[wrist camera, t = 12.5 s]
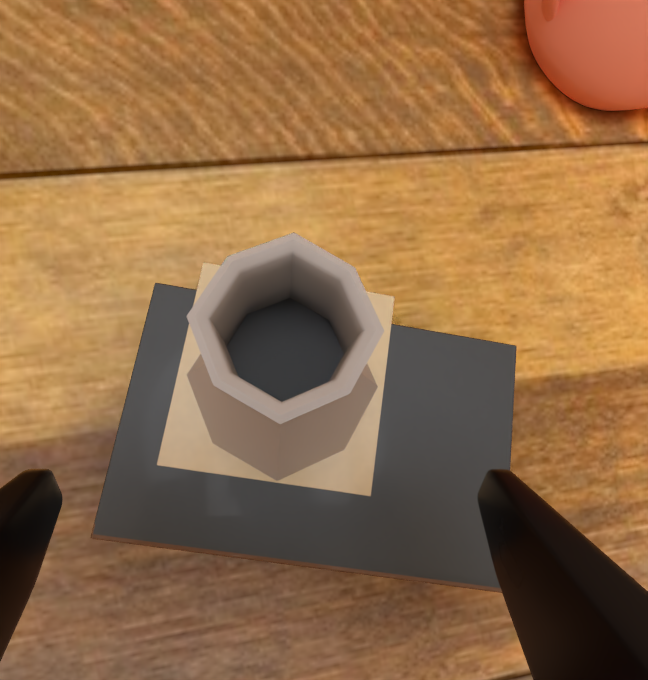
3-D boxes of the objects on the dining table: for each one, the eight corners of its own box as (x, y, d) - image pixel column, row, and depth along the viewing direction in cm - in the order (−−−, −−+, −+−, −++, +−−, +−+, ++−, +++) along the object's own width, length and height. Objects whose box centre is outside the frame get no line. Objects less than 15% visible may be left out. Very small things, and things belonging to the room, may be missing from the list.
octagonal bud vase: (155, 373, 16) (-35, 298, 7) (292, 264, 18) (305, 70, 8) (274, 514, 16) (262, 665, 6) (406, 389, 17) (569, 344, 7)
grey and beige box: (470, 567, 19) (506, 595, 16) (120, 520, 18) (87, 540, 15) (486, 333, 21) (520, 319, 18) (178, 279, 20) (160, 254, 17)
